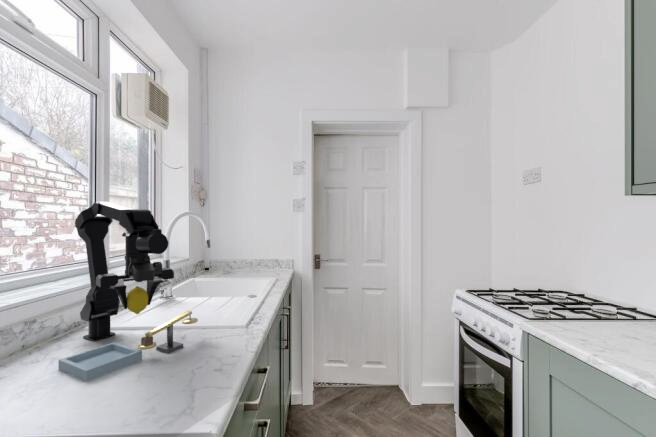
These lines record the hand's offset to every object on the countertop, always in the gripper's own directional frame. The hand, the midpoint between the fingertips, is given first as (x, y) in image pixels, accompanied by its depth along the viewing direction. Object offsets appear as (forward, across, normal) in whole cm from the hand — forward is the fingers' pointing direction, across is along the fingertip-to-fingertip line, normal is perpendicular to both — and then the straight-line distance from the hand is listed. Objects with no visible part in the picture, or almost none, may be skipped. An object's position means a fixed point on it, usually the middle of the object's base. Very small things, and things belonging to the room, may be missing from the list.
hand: (137, 306), depth 93 cm
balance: (+12, +6, -7) cm, 15 cm away
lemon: (+2, 0, 0) cm, 2 cm away
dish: (+12, -10, -5) cm, 16 cm away
